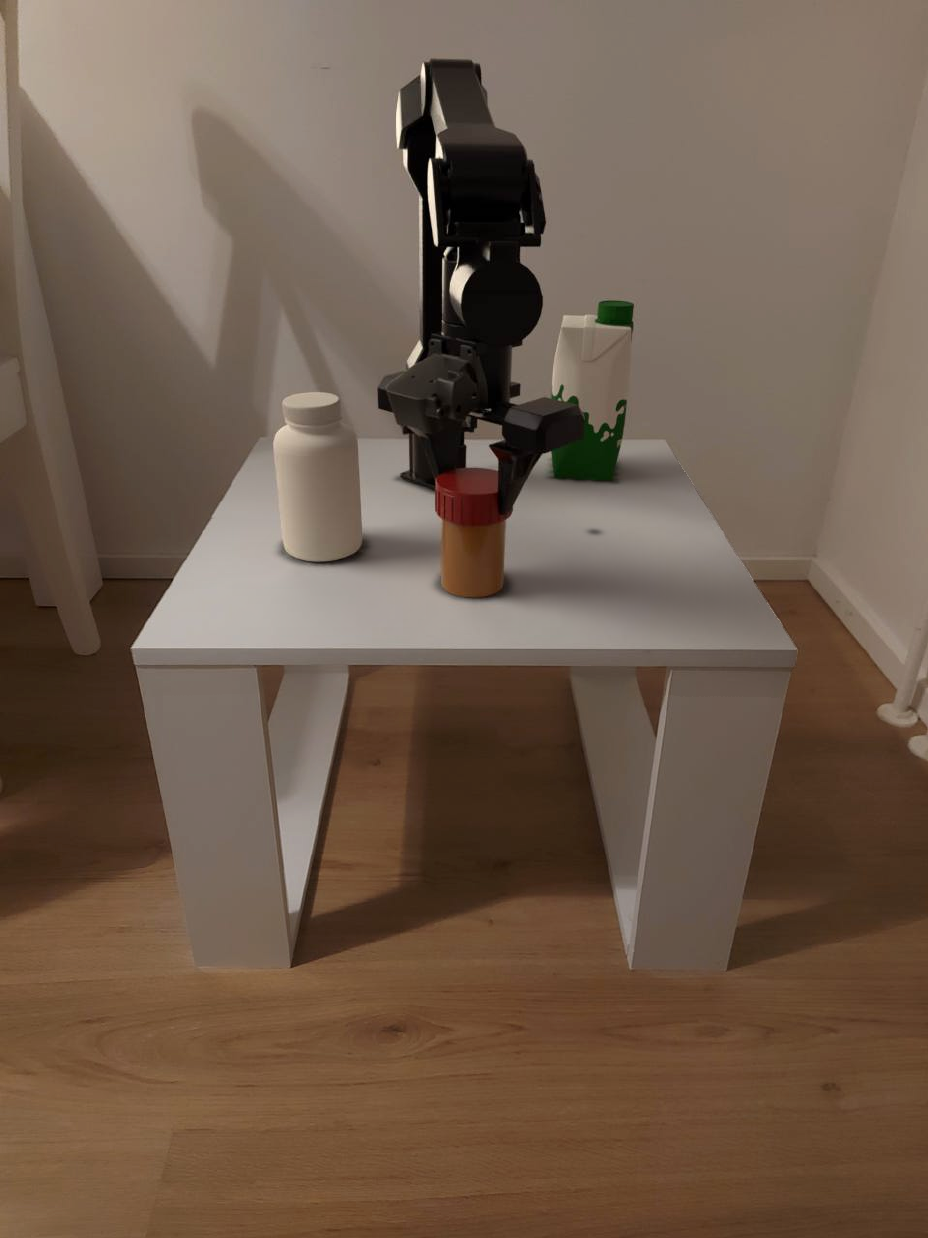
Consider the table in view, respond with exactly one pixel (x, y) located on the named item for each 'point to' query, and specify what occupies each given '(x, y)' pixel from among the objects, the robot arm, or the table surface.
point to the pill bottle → (318, 479)
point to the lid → (468, 497)
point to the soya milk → (594, 387)
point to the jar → (472, 559)
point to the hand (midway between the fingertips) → (473, 503)
